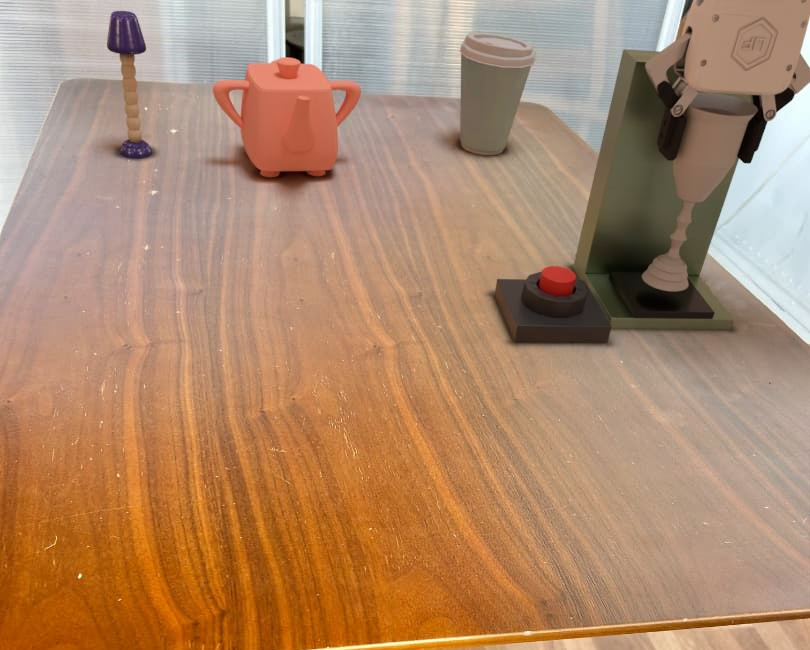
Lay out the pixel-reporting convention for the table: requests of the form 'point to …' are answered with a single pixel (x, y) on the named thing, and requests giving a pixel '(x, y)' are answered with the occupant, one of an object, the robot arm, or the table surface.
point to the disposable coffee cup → (491, 89)
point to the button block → (550, 313)
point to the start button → (557, 281)
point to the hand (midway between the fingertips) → (704, 155)
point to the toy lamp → (129, 77)
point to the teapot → (288, 115)
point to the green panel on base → (645, 216)
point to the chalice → (700, 171)
